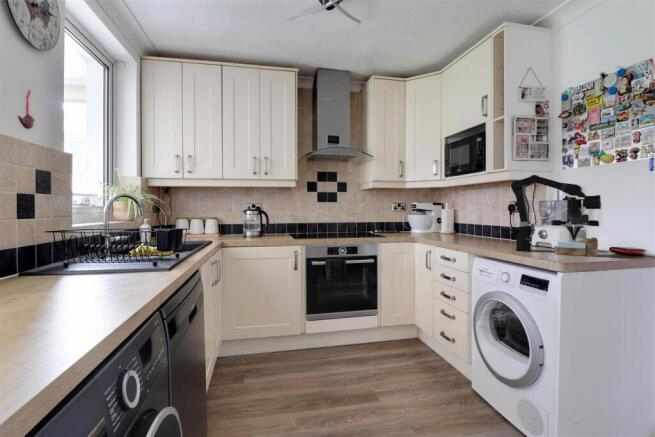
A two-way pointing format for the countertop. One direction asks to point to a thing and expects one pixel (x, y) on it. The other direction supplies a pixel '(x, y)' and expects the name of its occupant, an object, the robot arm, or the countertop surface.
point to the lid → (570, 244)
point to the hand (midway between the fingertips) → (573, 239)
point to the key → (583, 239)
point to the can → (578, 235)
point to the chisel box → (580, 249)
